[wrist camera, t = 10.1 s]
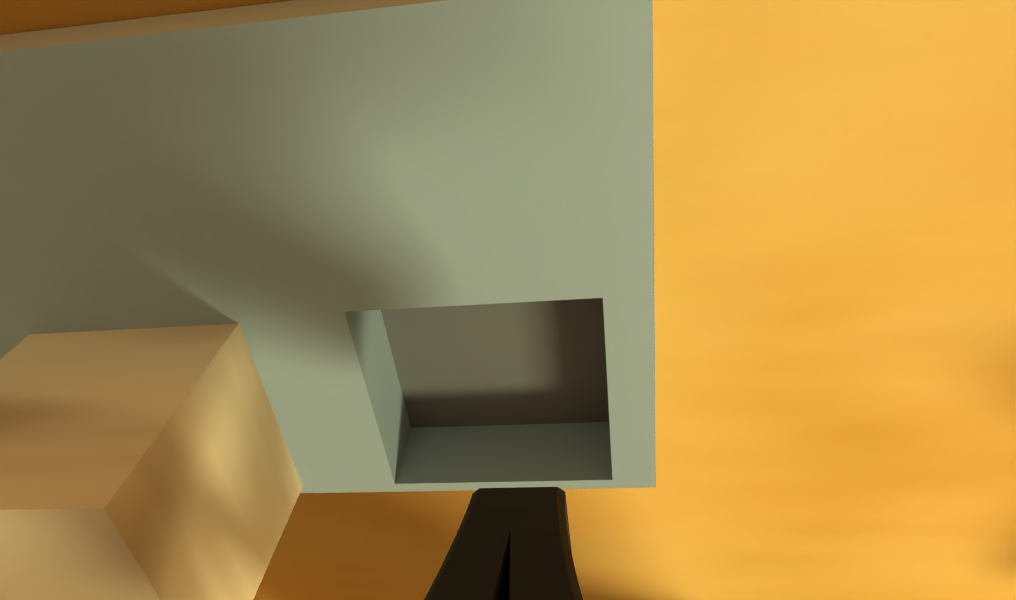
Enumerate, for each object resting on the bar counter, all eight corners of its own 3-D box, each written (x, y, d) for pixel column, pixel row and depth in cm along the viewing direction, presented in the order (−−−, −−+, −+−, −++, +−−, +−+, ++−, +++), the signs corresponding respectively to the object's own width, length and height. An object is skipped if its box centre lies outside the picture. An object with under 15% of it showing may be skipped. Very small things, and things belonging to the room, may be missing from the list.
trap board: (647, 422, 16) (668, 592, 13) (-119, 445, 19) (-289, 589, 15) (640, -42, 11) (673, 10, 7) (-415, 84, 14) (-784, 168, 10)
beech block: (302, 486, 16) (215, 686, 12) (121, 490, 16) (-17, 681, 12) (238, 323, 13) (103, 508, 10) (29, 334, 14) (-176, 512, 10)
